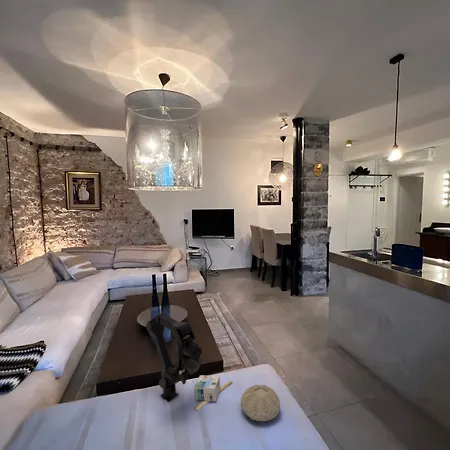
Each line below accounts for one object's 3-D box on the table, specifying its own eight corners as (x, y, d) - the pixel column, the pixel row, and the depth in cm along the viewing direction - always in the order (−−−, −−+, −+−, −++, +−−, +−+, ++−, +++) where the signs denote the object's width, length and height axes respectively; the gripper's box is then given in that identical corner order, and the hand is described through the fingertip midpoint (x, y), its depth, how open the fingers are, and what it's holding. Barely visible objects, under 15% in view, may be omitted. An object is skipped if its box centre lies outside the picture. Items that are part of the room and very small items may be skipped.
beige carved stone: (247, 431, 115) (247, 408, 114) (236, 402, 132) (235, 382, 131) (286, 422, 119) (286, 401, 118) (270, 395, 136) (270, 376, 135)
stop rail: (194, 408, 128) (194, 407, 128) (229, 381, 148) (229, 380, 148) (197, 410, 127) (197, 409, 127) (232, 382, 146) (232, 381, 146)
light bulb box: (214, 388, 131) (193, 387, 133) (215, 402, 131) (194, 400, 133) (219, 375, 141) (199, 374, 143) (220, 388, 141) (200, 387, 143)
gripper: (179, 366, 114) (180, 402, 115) (209, 348, 128) (210, 380, 129) (162, 358, 121) (163, 392, 122) (192, 341, 135) (193, 371, 136)
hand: (183, 383), depth 127 cm, fingers closed
